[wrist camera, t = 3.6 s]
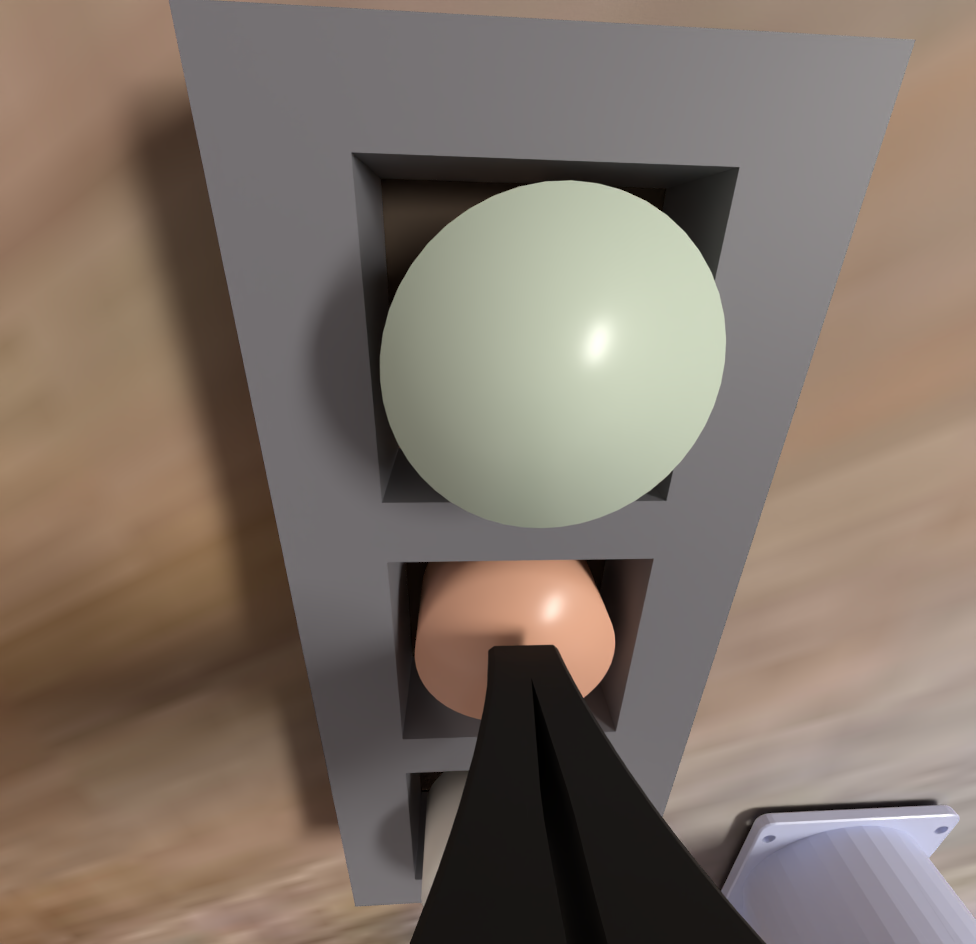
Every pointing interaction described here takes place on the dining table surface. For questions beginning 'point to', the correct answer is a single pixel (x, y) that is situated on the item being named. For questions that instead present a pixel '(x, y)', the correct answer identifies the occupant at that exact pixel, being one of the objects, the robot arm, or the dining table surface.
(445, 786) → the cream button
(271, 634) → the dining table surface
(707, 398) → the sage button
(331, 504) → the button board
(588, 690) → the terracotta button
